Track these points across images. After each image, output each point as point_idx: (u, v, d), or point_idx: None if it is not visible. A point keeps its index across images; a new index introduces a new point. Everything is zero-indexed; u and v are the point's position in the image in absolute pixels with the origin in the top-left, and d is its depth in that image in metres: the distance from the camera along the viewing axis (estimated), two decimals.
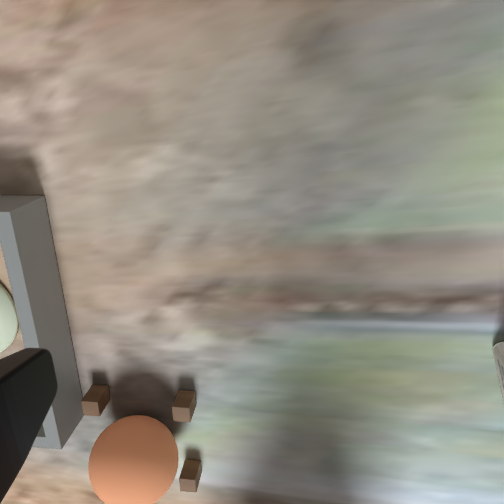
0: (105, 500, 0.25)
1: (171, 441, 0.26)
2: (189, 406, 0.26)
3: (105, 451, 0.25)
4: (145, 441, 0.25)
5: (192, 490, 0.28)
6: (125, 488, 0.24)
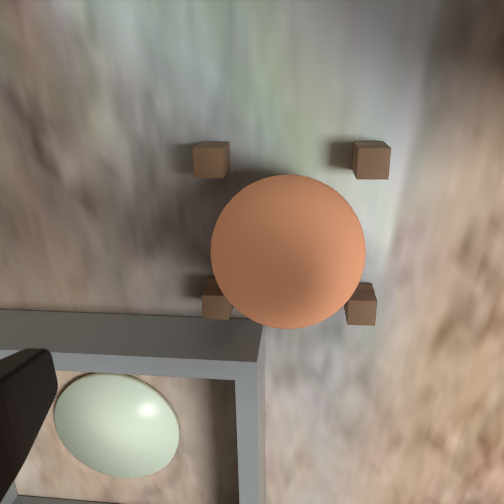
0: (300, 308, 0.13)
1: (252, 183, 0.15)
2: (193, 147, 0.15)
3: (223, 292, 0.14)
4: (217, 224, 0.14)
5: (385, 154, 0.15)
6: (260, 266, 0.13)
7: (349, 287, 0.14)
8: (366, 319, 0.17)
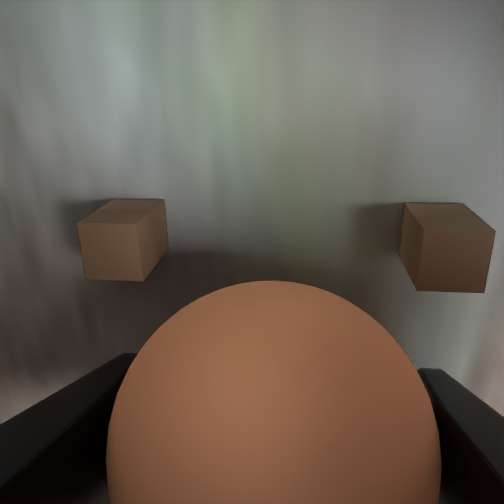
0: None
1: (198, 300, 0.07)
2: (81, 220, 0.08)
3: None
4: (117, 399, 0.07)
5: (482, 244, 0.07)
6: None
7: None
8: None
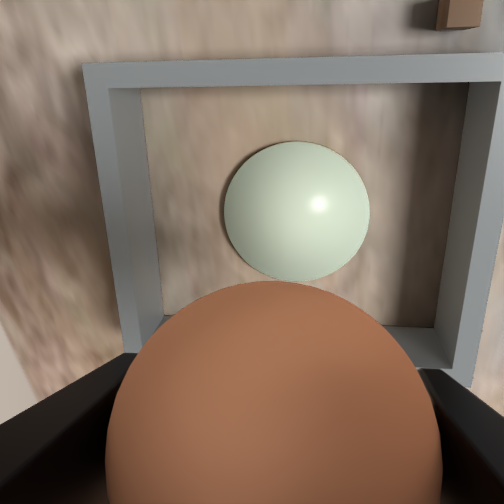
0: None
1: (197, 300, 0.07)
2: None
3: None
4: (116, 401, 0.07)
5: None
6: None
7: None
8: None
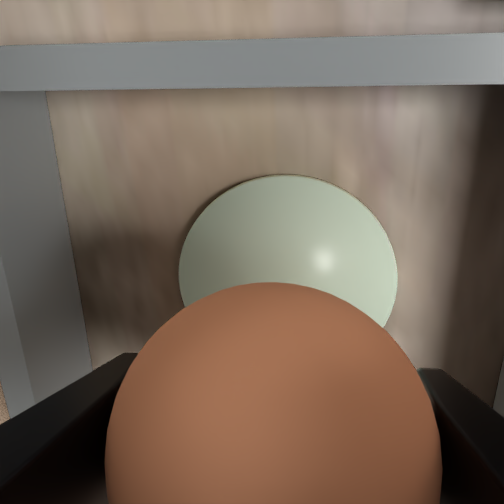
0: None
1: (197, 301, 0.07)
2: None
3: None
4: (116, 402, 0.07)
5: None
6: None
7: None
8: None
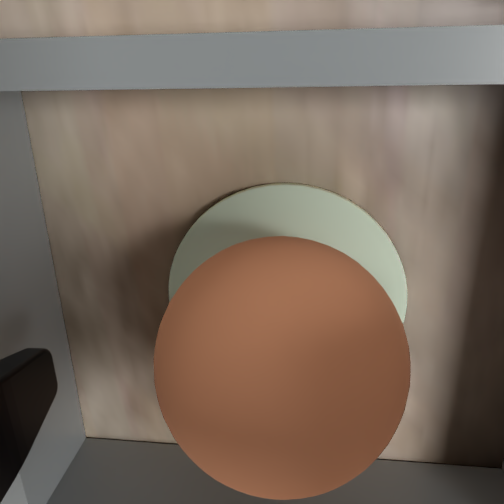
0: (301, 487, 0.07)
1: (222, 250, 0.09)
2: None
3: (174, 436, 0.09)
4: (163, 323, 0.09)
5: None
6: (230, 421, 0.07)
7: (387, 441, 0.08)
8: None
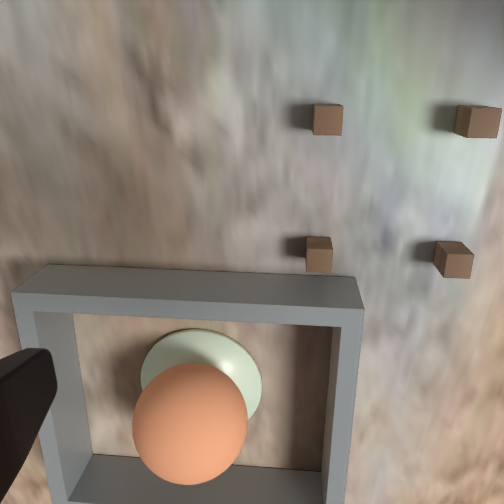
0: (192, 478, 0.18)
1: (164, 372, 0.20)
2: (315, 105, 0.16)
3: None
4: (136, 408, 0.19)
5: (496, 114, 0.16)
6: (162, 453, 0.18)
7: (230, 459, 0.19)
8: (462, 272, 0.18)
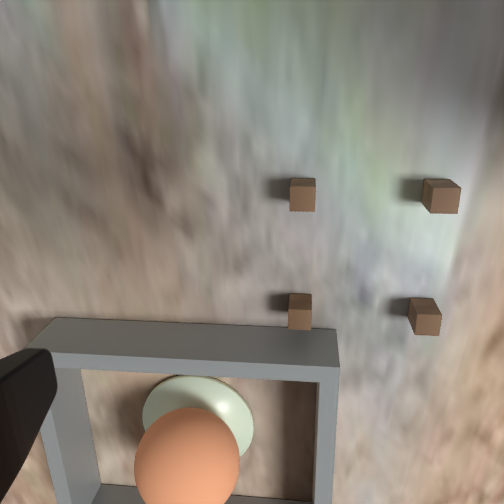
0: None
1: (162, 418, 0.22)
2: (290, 185, 0.18)
3: None
4: (137, 452, 0.21)
5: (456, 193, 0.17)
6: (161, 496, 0.20)
7: (223, 499, 0.21)
8: (432, 330, 0.19)
